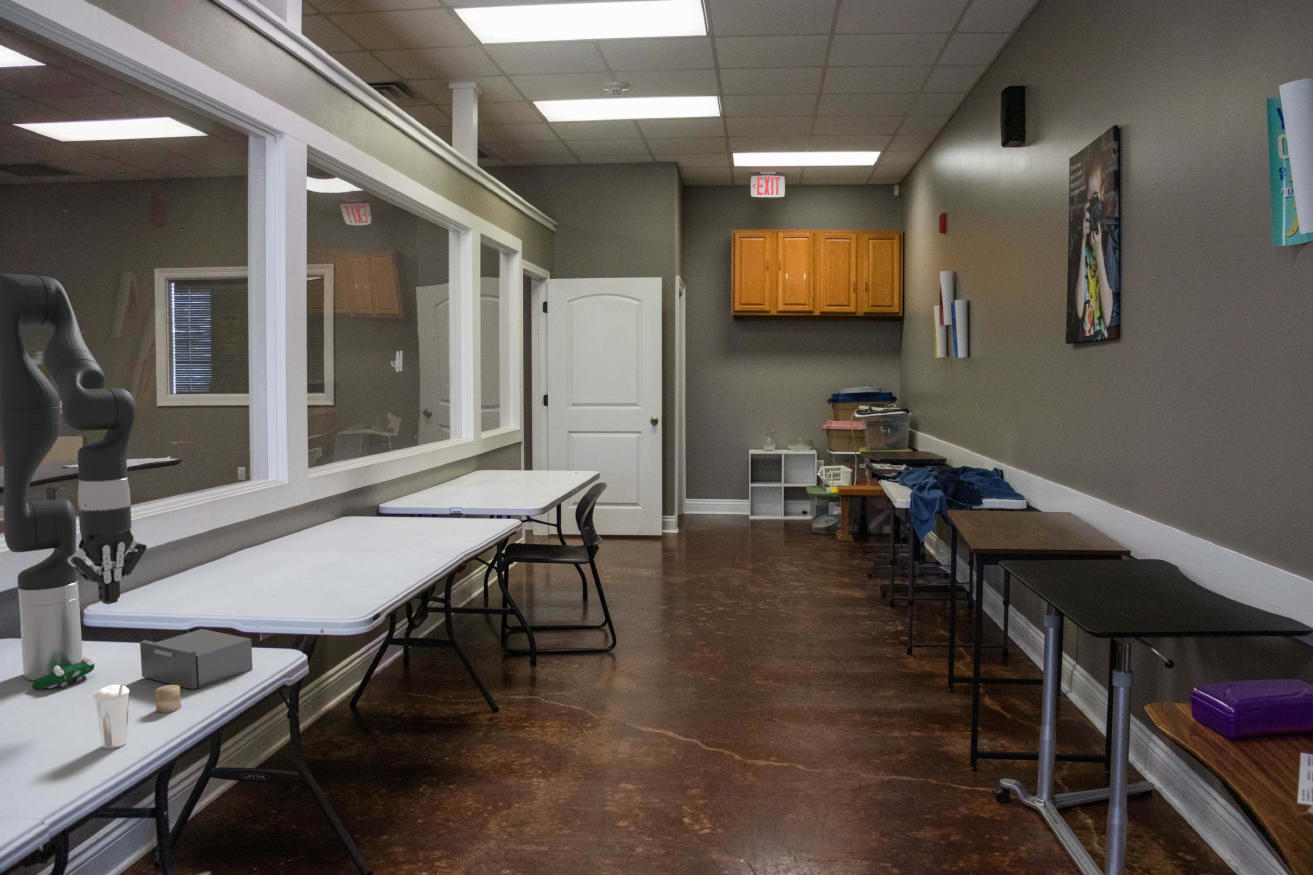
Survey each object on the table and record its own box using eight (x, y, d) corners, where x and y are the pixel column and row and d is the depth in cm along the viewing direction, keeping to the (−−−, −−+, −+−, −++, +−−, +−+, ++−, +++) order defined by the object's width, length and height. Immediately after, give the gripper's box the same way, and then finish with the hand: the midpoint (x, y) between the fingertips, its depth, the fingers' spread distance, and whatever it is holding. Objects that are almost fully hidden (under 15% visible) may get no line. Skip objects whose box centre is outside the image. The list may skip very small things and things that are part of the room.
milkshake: (109, 754, 126) (105, 689, 125) (91, 746, 129) (87, 683, 128) (141, 743, 130) (137, 680, 129) (123, 735, 132) (119, 673, 132)
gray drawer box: (203, 658, 169) (201, 627, 168) (252, 669, 162) (251, 637, 162) (148, 675, 159) (147, 643, 159) (199, 688, 152) (197, 654, 152)
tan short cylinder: (151, 710, 142) (150, 690, 142) (172, 703, 146) (171, 683, 145) (165, 714, 141) (163, 694, 140) (185, 706, 144) (184, 686, 144)
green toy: (39, 701, 152) (55, 681, 150) (28, 685, 153) (43, 665, 151) (88, 683, 161) (103, 664, 159) (77, 668, 162) (92, 649, 160)
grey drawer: (197, 658, 168) (195, 625, 167) (246, 669, 161) (244, 635, 160) (139, 677, 158) (137, 642, 157) (190, 689, 151) (188, 653, 150)
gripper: (76, 512, 137) (82, 616, 139) (156, 500, 149) (160, 596, 151) (50, 508, 141) (56, 609, 142) (130, 497, 152) (134, 590, 154)
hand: (110, 602), depth 147 cm, fingers closed
